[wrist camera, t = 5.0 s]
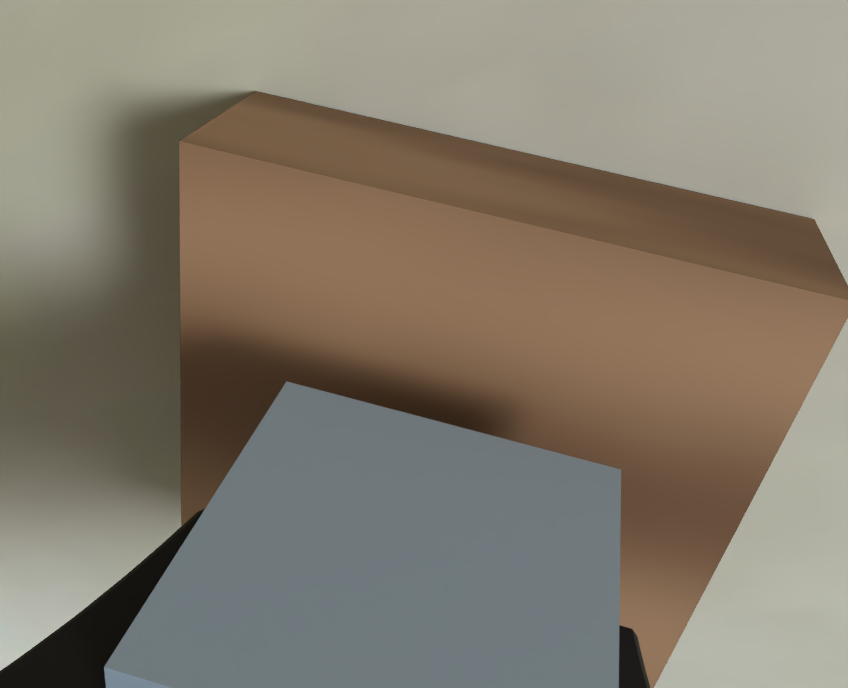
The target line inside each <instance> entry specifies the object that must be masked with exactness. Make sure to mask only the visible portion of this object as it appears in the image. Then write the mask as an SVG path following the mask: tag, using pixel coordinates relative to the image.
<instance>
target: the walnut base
mask: <svg viewBox="0 0 848 688" xmlns="http://www.w3.org/2000/svg"><path fill="white" fill-rule="evenodd" d="M179 200H180V361H181V521H182V526H183V525H184V524H185V523H186V522H187V521H188V520H189V519H190V518H191V517H192V516H193V515H194V514H196V513H197V512H198V511H200V510H202V509H204V508H206V507H207V505H208V504H209V502H210V500H211V499H212V497H213V496H214V494H215V493H216V491H217V489H218V488H219V486H220V485H221V483H222V482H223V480H224V479H225V477H226V475H227V474H228V472H229V471H230V469H231V468H232V466H233V464H234V463H235V461H236V460H237V458H238V457H239V455H240V453H241V452H242V450H243V449H244V447H245V446H246V444H247V443H248V441H249V439H250V438H251V436H252V435H253V433H254V432H255V430H256V428H257V427H258V425H259V424H260V422H261V421H262V419H263V417H264V416H265V414H266V413H267V411H268V410H269V408H270V407H271V405H272V403H273V402H274V400H275V399H276V397H277V396H278V394H279V392H280V391H281V389H282V388H283V386H284V385H285V383H286V382H291V383H295V384H298V385H302V386H306V387H310V388H314V389H317V390H321V391H325V392H329V393H333V394H336V395H340V396H344V397H348V398H352V399H355V400H359V401H363V402H367V403H370V404H374V405H378V406H382V407H386V408H389V409H393V410H397V411H401V412H405V413H408V414H412V415H416V416H420V417H424V418H427V419H431V420H435V421H439V422H443V423H446V424H450V425H454V426H458V427H462V428H465V429H469V430H473V431H477V432H481V433H484V434H488V435H492V436H496V437H500V438H503V439H507V440H511V441H515V442H519V443H522V444H526V445H530V446H534V447H537V448H541V449H545V450H549V451H553V452H556V453H560V454H564V455H568V456H572V457H575V458H579V459H583V460H587V461H591V462H594V463H598V464H602V465H606V466H610V467H613V468H617V469H621V528H620V618H619V625H621V626H624V627H628V628H631V629H633V631H634V632H635V634H636V635H637V637H638V641H639V646H640V650H641V654H642V658H643V662H644V666H645V670H646V673H647V677H648V681H649V685H650V688H654V686H655V684H656V682H657V680H658V678H659V677H660V675H661V673H662V671H663V669H664V667H665V665H666V663H667V661H668V659H669V657H670V656H671V654H672V652H673V650H674V648H675V646H676V644H677V642H678V640H679V638H680V636H681V635H682V633H683V631H684V629H685V627H686V625H687V623H688V621H689V619H690V617H691V615H692V614H693V612H694V610H695V608H696V606H697V604H698V602H699V600H700V598H701V596H702V594H703V593H704V591H705V589H706V587H707V585H708V583H709V581H710V579H711V577H712V575H713V574H714V572H715V570H716V568H717V566H718V564H719V562H720V560H721V558H722V556H723V554H724V553H725V551H726V549H727V547H728V545H729V543H730V541H731V539H732V537H733V535H734V533H735V532H736V530H737V528H738V526H739V524H740V522H741V520H742V518H743V516H744V514H745V512H746V511H747V509H748V507H749V505H750V503H751V501H752V499H753V497H754V495H755V493H756V491H757V490H758V488H759V486H760V484H761V482H762V480H763V478H764V476H765V474H766V472H767V471H768V469H769V467H770V465H771V463H772V461H773V459H774V457H775V455H776V453H777V451H778V450H779V448H780V446H781V444H782V442H783V440H784V438H785V436H786V434H787V432H788V430H789V429H790V427H791V425H792V423H793V421H794V419H795V417H796V415H797V413H798V411H799V409H800V408H801V406H802V404H803V402H804V400H805V398H806V396H807V394H808V392H809V390H810V388H811V387H812V385H813V383H814V381H815V379H816V377H817V375H818V373H819V371H820V369H821V368H822V366H823V364H824V362H825V360H826V358H827V356H828V354H829V352H830V350H831V348H832V347H833V345H834V343H835V341H836V339H837V337H838V335H839V333H840V331H841V329H842V327H843V326H844V324H845V322H846V320H847V318H848V285H847V283H846V281H845V279H844V277H843V276H842V274H841V272H840V270H839V268H838V266H837V264H836V262H835V260H834V258H833V256H832V254H831V252H830V250H829V248H828V246H827V244H826V242H825V240H824V238H823V236H822V234H821V232H820V230H819V228H818V226H817V224H816V222H815V220H814V219H810V218H806V217H801V216H797V215H793V214H788V213H784V212H780V211H775V210H771V209H767V208H762V207H758V206H754V205H749V204H745V203H740V202H736V201H732V200H727V199H723V198H719V197H714V196H710V195H706V194H701V193H697V192H693V191H688V190H684V189H679V188H675V187H671V186H666V185H662V184H658V183H653V182H649V181H645V180H640V179H636V178H631V177H627V176H623V175H618V174H614V173H610V172H605V171H601V170H597V169H592V168H588V167H584V166H579V165H575V164H570V163H566V162H562V161H557V160H553V159H549V158H544V157H540V156H536V155H531V154H527V153H523V152H518V151H514V150H509V149H505V148H501V147H496V146H492V145H488V144H483V143H479V142H475V141H470V140H466V139H462V138H457V137H453V136H448V135H444V134H440V133H435V132H431V131H427V130H422V129H418V128H414V127H409V126H405V125H401V124H396V123H392V122H387V121H383V120H379V119H374V118H370V117H366V116H361V115H357V114H353V113H348V112H344V111H340V110H335V109H331V108H326V107H322V106H318V105H313V104H309V103H305V102H300V101H296V100H292V99H287V98H283V97H279V96H274V95H270V94H265V93H261V92H257V91H256V92H254V93H252V94H251V95H249V96H248V97H246V98H245V99H243V100H242V101H240V102H239V103H237V104H236V105H234V106H232V107H231V108H229V109H228V110H226V111H225V112H223V113H222V114H220V115H219V116H217V117H216V118H214V119H212V120H211V121H209V122H208V123H206V124H205V125H203V126H202V127H200V128H199V129H197V130H196V131H194V132H192V133H191V134H189V135H188V136H186V137H185V138H183V139H182V140H180V141H179Z"/></svg>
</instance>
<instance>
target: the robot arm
mask: <svg viewBox="0 0 848 688" xmlns="http://www.w3.org/2000/svg"><path fill="white" fill-rule="evenodd" d="M204 510H205V508H204V509H202V510H200V511H198V512H197V513H196V514H194V515H193V516H192V517H191V518H190V519H189V520H188V521H187V522H186V523H185V524H184V525H183V526H182V527H180V528H179V529H178V530H177V531H176V532H175V533H174V534H173V535H172V536H171V537H169V538H168V539H167V540H166V541H165V542H164V543H163V544H162V545H160V546H159V547H158V548H157V549H156V550H155V551H154V552H153V553H151V554H150V555H149V556H148V557H147V558H146V559H144V560H143V561H142V562H141V563H140V564H139V565H137V566H136V567H135V568H134V569H133V570H132V571H130V572H129V573H128V574H127V575H126V576H125V577H123V578H122V579H121V580H120V581H118V582H117V583H116V584H115V585H113V586H112V587H111V588H110V589H109V590H107V591H106V592H105V593H104V594H102V595H101V596H100V597H99V598H97V599H96V600H95V601H94V602H93V603H91V604H90V605H89V606H88V607H86V608H85V609H84V610H83V611H81V612H80V613H79V614H78V615H76V616H75V617H74V618H72V619H71V620H70V621H68V622H67V623H66V624H64V625H63V626H62V627H60V628H59V629H58V630H56V631H55V632H54V633H52V634H51V635H49V636H48V637H47V638H45V639H44V640H43V641H41V642H40V643H39V644H37V645H36V646H35V647H33V648H32V649H31V650H29V651H28V652H26V653H25V654H24V655H22V656H21V657H20V658H18V659H17V660H15V661H14V662H13V663H11V664H10V665H8V666H7V667H5V668H4V669H2V670H1V671H0V688H106V683H105V672H104V666H105V665H106V663H107V662H108V660H109V658H110V657H111V655H112V654H113V652H114V651H115V649H116V647H117V646H118V644H119V643H120V641H121V640H122V638H123V637H124V635H125V633H126V632H127V630H128V629H129V627H130V626H131V624H132V622H133V621H134V619H135V618H136V616H137V615H138V613H139V612H140V610H141V608H142V607H143V605H144V604H145V602H146V601H147V599H148V597H149V596H150V594H151V593H152V591H153V590H154V588H155V586H156V585H157V583H158V582H159V580H160V579H161V577H162V576H163V574H164V572H165V571H166V569H167V568H168V566H169V565H170V563H171V561H172V560H173V558H174V557H175V555H176V554H177V552H178V550H179V549H180V547H181V546H182V544H183V543H184V541H185V540H186V538H187V536H188V535H189V533H190V532H191V530H192V529H193V527H194V525H195V524H196V522H197V521H198V519H199V518H200V516H201V515H202V513H203V511H204ZM619 688H650V685H649V681H648V677H647V673H646V670H645V666H644V662H643V658H642V654H641V650H640V646H639V641H638V637H637V635H636V634H635V632H634V631H633V629H631V628H628V627H624V626H621V625H619Z"/></svg>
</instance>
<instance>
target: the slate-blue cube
mask: <svg viewBox="0 0 848 688" xmlns="http://www.w3.org/2000/svg"><path fill="white" fill-rule="evenodd" d="M620 528H621V469H617V468H613V467H610V466H606V465H602V464H598V463H594V462H591V461H587V460H583V459H579V458H575V457H572V456H568V455H564V454H560V453H556V452H553V451H549V450H545V449H541V448H537V447H534V446H530V445H526V444H522V443H519V442H515V441H511V440H507V439H503V438H500V437H496V436H492V435H488V434H484V433H481V432H477V431H473V430H469V429H465V428H462V427H458V426H454V425H450V424H446V423H443V422H439V421H435V420H431V419H427V418H424V417H420V416H416V415H412V414H408V413H405V412H401V411H397V410H393V409H389V408H386V407H382V406H378V405H374V404H370V403H367V402H363V401H359V400H355V399H352V398H348V397H344V396H340V395H336V394H333V393H329V392H325V391H321V390H317V389H314V388H310V387H306V386H302V385H298V384H295V383H291V382H286V383H285V385H284V386H283V388H282V389H281V391H280V392H279V394H278V396H277V397H276V399H275V400H274V402H273V403H272V405H271V407H270V408H269V410H268V411H267V413H266V414H265V416H264V417H263V419H262V421H261V422H260V424H259V425H258V427H257V428H256V430H255V432H254V433H253V435H252V436H251V438H250V439H249V441H248V443H247V444H246V446H245V447H244V449H243V450H242V452H241V453H240V455H239V457H238V458H237V460H236V461H235V463H234V464H233V466H232V468H231V469H230V471H229V472H228V474H227V475H226V477H225V479H224V480H223V482H222V483H221V485H220V486H219V488H218V489H217V491H216V493H215V494H214V496H213V497H212V499H211V500H210V502H209V504H208V505H207V507H206V508H205V510H204V511H203V513H202V515H201V516H200V518H199V519H198V521H197V522H196V524H195V525H194V527H193V529H192V530H191V532H190V533H189V535H188V536H187V538H186V540H185V541H184V543H183V544H182V546H181V547H180V549H179V550H178V552H177V554H176V555H175V557H174V558H173V560H172V561H171V563H170V565H169V566H168V568H167V569H166V571H165V572H164V574H163V576H162V577H161V579H160V580H159V582H158V583H157V585H156V586H155V588H154V590H153V591H152V593H151V594H150V596H149V597H148V599H147V601H146V602H145V604H144V605H143V607H142V608H141V610H140V612H139V613H138V615H137V616H136V618H135V619H134V621H133V622H132V624H131V626H130V627H129V629H128V630H127V632H126V633H125V635H124V637H123V638H122V640H121V641H120V643H119V644H118V646H117V647H116V649H115V651H114V652H113V654H112V655H111V657H110V658H109V660H108V662H107V663H106V665H105V666H104V672H105V683H106V688H619V618H620Z"/></svg>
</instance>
